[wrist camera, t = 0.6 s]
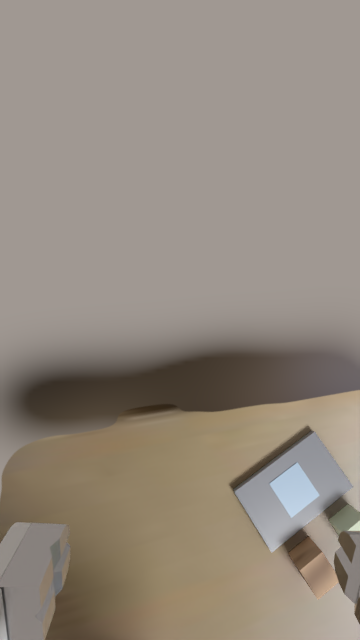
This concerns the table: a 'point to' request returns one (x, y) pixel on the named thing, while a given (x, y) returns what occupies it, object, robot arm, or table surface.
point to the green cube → (346, 520)
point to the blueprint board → (292, 490)
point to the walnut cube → (314, 567)
